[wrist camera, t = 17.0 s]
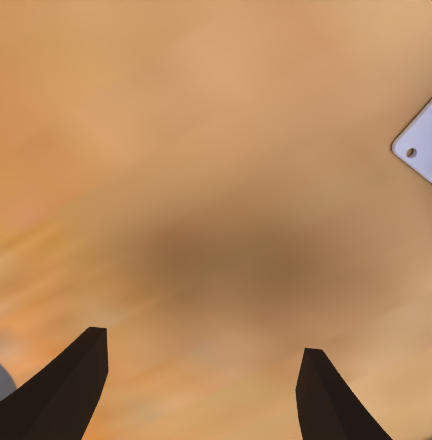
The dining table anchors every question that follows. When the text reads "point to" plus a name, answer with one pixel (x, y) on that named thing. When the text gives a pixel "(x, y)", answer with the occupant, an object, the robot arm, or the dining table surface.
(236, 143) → the dining table surface
